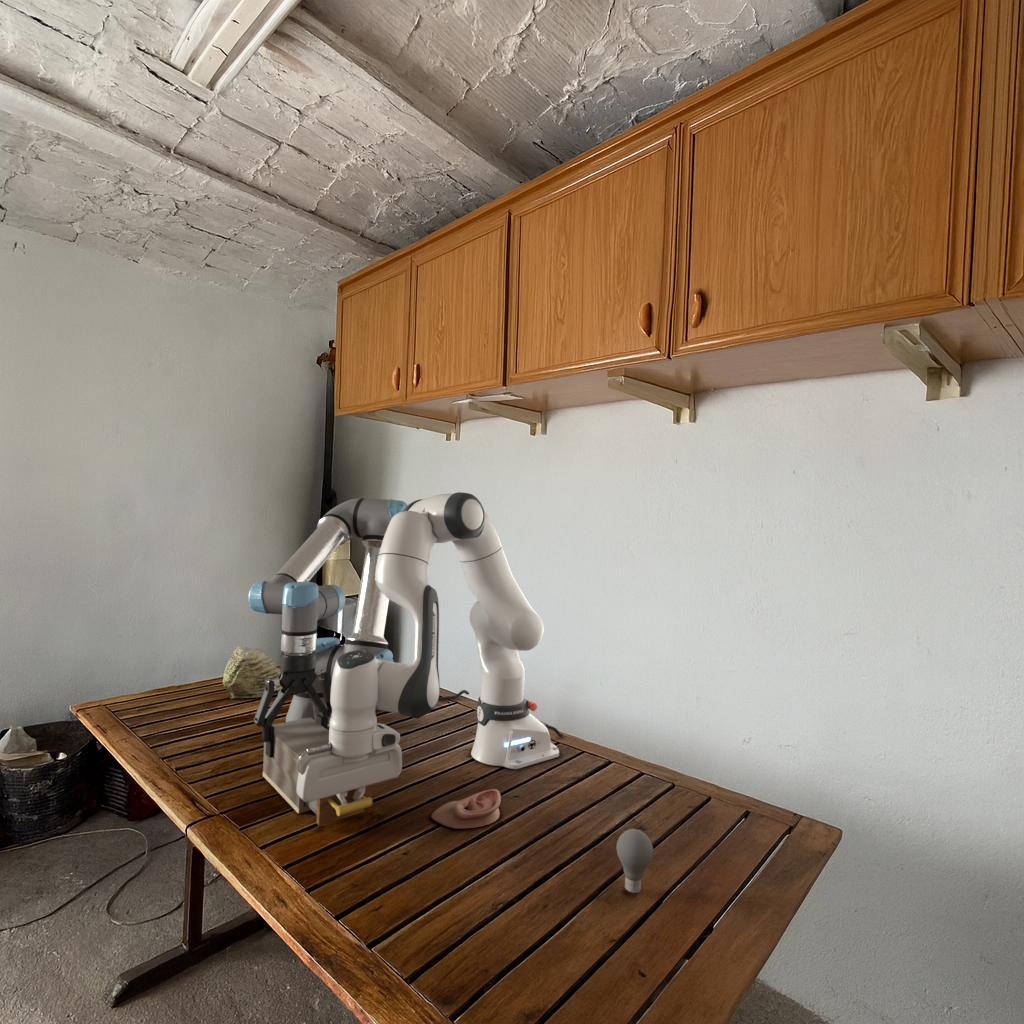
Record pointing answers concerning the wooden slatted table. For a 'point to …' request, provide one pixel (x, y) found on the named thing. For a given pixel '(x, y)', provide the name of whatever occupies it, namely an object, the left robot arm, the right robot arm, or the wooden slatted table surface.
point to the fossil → (249, 673)
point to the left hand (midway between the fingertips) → (295, 749)
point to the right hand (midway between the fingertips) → (349, 810)
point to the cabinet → (291, 756)
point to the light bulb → (634, 857)
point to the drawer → (337, 807)
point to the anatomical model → (470, 811)
